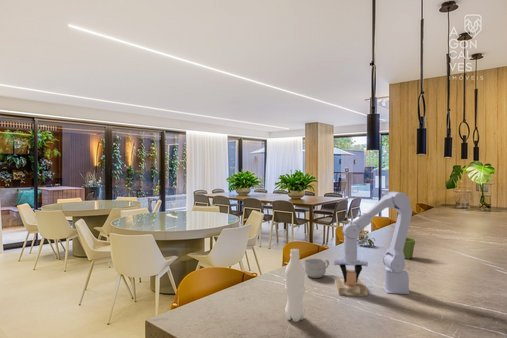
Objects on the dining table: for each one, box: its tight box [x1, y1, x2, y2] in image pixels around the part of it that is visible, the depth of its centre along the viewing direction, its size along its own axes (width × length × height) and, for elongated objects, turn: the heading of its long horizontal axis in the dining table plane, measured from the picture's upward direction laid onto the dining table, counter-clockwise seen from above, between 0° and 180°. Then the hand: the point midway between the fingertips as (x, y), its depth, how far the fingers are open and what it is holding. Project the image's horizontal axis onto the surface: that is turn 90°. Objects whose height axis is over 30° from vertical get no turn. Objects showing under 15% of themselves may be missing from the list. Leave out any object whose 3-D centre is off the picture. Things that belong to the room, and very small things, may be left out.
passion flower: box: [357, 231, 376, 247], centre depth 225 cm, size 11×11×12 cm
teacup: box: [303, 258, 330, 279], centre depth 162 cm, size 14×11×8 cm
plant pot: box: [403, 237, 417, 260], centre depth 195 cm, size 12×12×11 cm
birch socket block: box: [334, 277, 369, 297], centre depth 142 cm, size 12×12×3 cm
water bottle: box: [284, 248, 306, 323], centre depth 116 cm, size 7×7×25 cm
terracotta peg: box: [345, 269, 356, 286], centre depth 142 cm, size 4×4×8 cm
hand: (350, 281), depth 143 cm, fingers open, 4 cm apart
